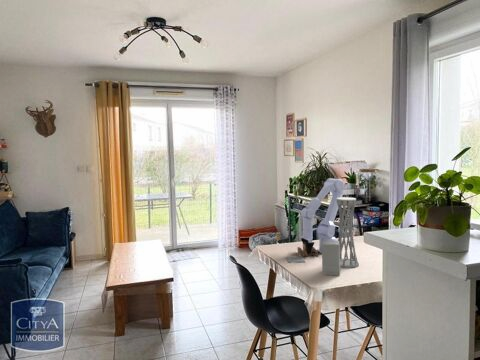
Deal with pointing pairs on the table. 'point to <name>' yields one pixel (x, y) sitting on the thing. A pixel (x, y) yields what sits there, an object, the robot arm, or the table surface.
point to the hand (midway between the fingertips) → (307, 252)
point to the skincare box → (331, 258)
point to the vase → (353, 259)
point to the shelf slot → (312, 252)
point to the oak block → (306, 251)
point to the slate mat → (295, 259)
